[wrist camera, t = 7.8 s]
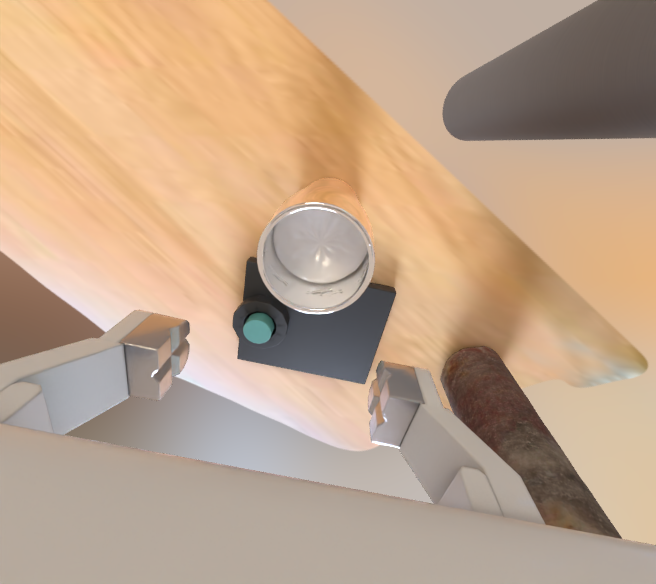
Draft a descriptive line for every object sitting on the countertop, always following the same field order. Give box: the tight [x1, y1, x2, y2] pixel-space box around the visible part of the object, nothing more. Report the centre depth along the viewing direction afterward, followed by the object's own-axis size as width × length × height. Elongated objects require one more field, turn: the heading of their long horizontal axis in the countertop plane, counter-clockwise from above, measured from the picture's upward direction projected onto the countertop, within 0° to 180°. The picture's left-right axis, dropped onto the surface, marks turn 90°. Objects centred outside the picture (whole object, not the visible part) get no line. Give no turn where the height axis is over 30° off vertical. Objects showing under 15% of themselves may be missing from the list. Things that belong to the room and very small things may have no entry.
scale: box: [233, 257, 396, 384], centre depth 35 cm, size 16×13×3 cm
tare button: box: [243, 313, 274, 344], centre depth 33 cm, size 3×3×2 cm
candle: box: [441, 346, 622, 539], centre depth 29 cm, size 8×7×20 cm
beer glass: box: [257, 178, 375, 314], centre depth 24 cm, size 7×7×15 cm
